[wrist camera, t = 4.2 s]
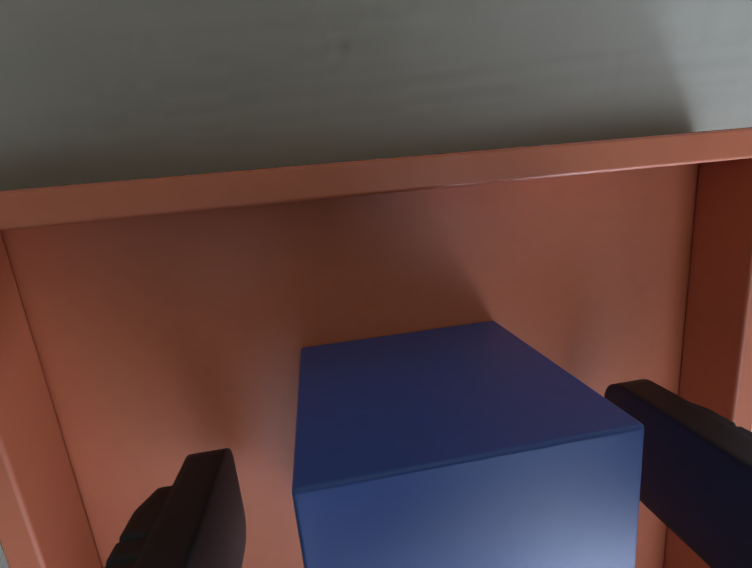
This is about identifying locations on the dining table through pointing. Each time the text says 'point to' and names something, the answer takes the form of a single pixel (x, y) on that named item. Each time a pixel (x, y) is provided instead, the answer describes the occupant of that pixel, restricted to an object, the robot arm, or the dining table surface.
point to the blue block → (459, 457)
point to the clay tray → (344, 310)
